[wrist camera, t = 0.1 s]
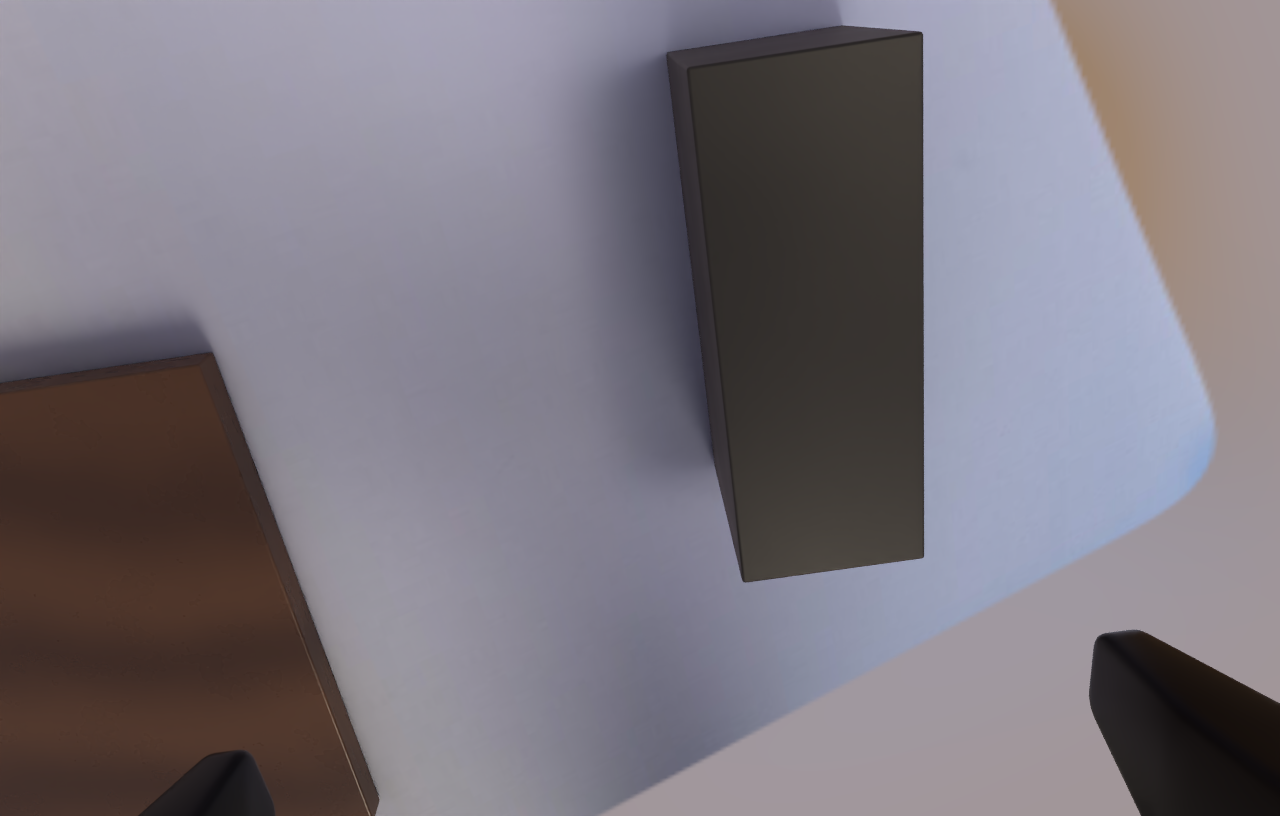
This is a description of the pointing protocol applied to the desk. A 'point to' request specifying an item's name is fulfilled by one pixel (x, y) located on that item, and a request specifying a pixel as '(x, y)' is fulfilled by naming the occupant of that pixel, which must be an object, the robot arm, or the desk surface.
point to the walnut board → (152, 604)
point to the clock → (809, 289)
